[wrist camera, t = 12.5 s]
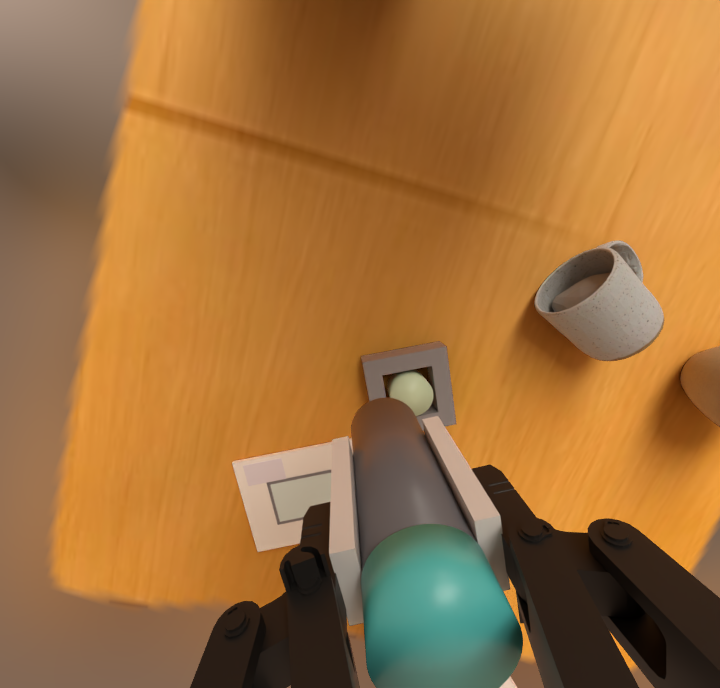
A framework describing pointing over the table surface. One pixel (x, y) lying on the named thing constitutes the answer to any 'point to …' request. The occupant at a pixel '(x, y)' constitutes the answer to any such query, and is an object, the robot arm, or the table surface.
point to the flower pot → (704, 382)
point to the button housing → (412, 359)
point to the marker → (423, 566)
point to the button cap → (411, 390)
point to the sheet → (283, 491)
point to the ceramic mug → (602, 303)
